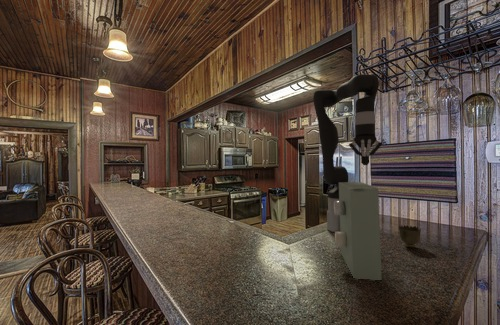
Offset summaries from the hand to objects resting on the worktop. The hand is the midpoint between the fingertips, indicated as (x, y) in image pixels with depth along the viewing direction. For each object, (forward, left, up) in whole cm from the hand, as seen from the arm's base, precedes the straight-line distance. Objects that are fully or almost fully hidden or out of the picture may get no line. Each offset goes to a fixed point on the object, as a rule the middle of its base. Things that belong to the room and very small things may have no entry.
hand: (365, 165), depth 98 cm
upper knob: (+3, -22, -17) cm, 28 cm away
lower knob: (+3, -22, -28) cm, 36 cm away
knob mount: (+6, -20, -34) cm, 40 cm away
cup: (+12, +11, -34) cm, 38 cm away
